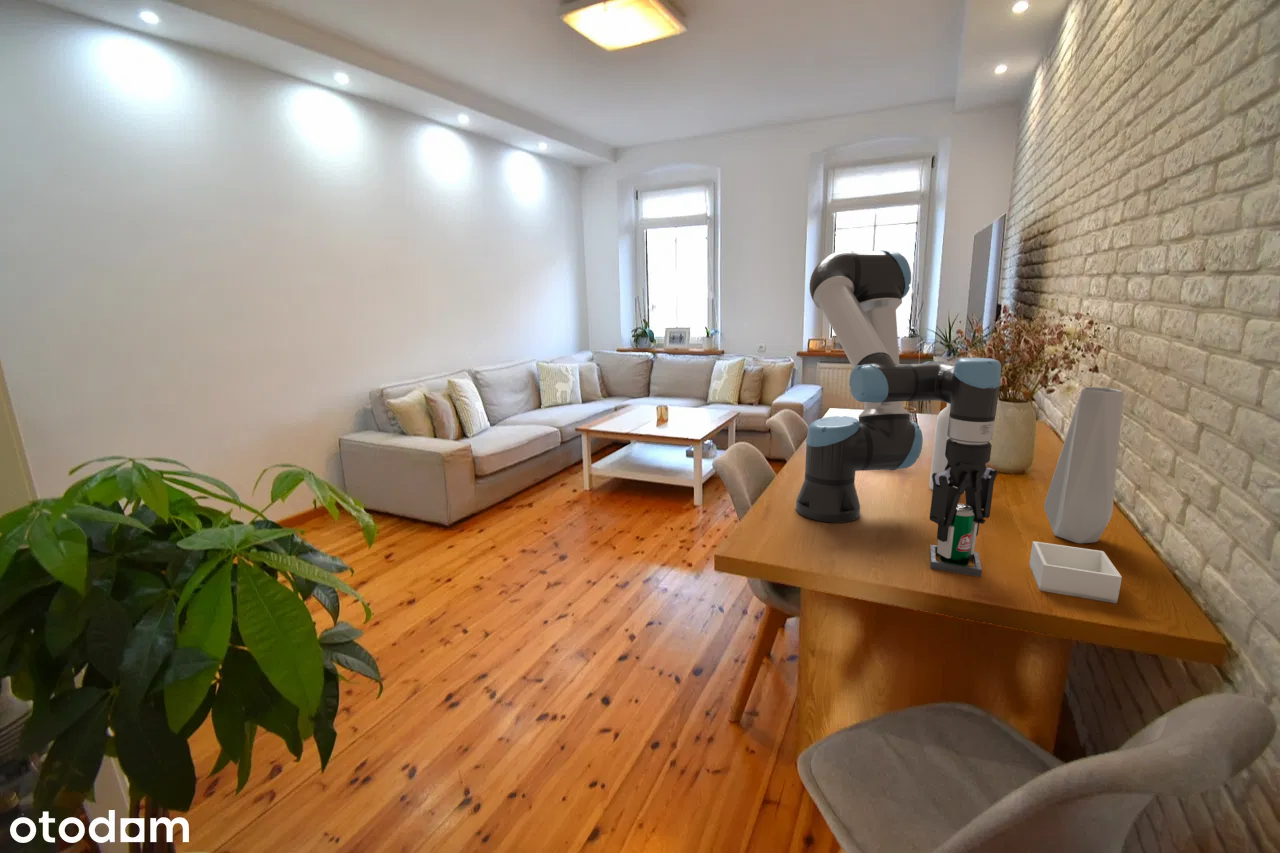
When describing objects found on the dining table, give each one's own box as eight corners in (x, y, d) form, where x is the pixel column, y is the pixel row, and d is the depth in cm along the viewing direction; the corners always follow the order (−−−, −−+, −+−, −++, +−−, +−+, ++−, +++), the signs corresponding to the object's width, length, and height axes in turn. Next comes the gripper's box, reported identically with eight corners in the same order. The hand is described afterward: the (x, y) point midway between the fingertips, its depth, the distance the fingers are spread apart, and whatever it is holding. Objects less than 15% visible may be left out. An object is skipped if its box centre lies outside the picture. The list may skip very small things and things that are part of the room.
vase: (1102, 531, 129) (1129, 386, 121) (1115, 551, 119) (1146, 395, 111) (1037, 521, 135) (1060, 382, 127) (1045, 540, 125) (1070, 391, 117)
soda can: (959, 571, 111) (966, 513, 109) (934, 562, 115) (940, 505, 113) (973, 565, 114) (980, 508, 111) (948, 555, 118) (954, 500, 115)
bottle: (923, 488, 158) (934, 381, 152) (937, 483, 163) (948, 378, 156) (953, 496, 152) (966, 384, 146) (966, 490, 157) (980, 381, 150)
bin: (1039, 590, 104) (1043, 564, 103) (1029, 564, 114) (1032, 541, 113) (1116, 603, 99) (1122, 577, 98) (1099, 575, 109) (1103, 551, 108)
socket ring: (930, 568, 113) (931, 561, 112) (929, 551, 120) (930, 544, 120) (981, 577, 109) (982, 570, 109) (977, 558, 117) (977, 551, 116)
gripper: (946, 448, 103) (932, 568, 108) (1023, 440, 108) (1007, 555, 113) (915, 439, 110) (904, 551, 115) (989, 432, 115) (975, 540, 120)
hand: (955, 553), depth 114 cm, fingers closed on soda can, 5 cm apart
